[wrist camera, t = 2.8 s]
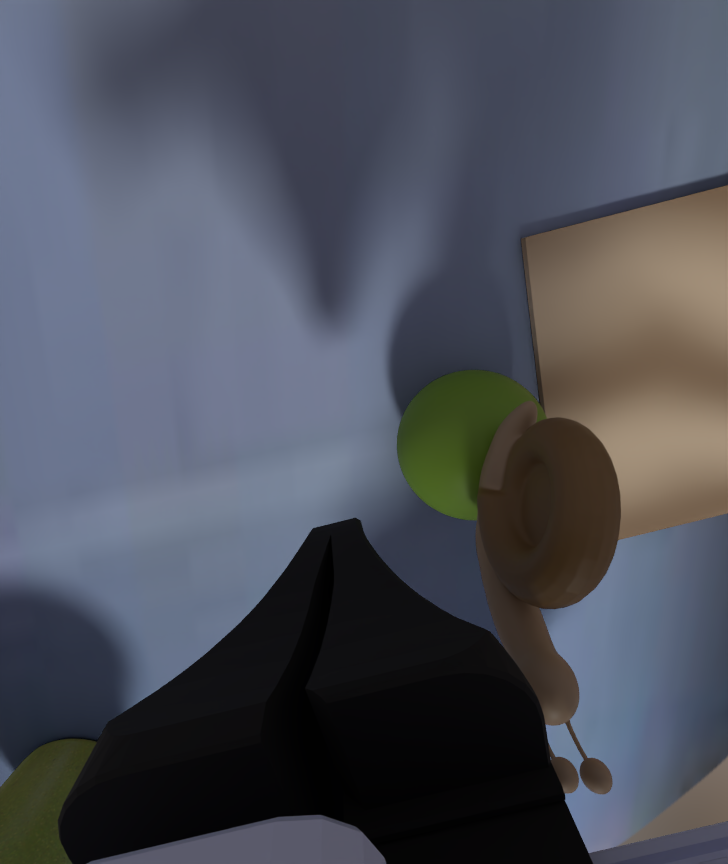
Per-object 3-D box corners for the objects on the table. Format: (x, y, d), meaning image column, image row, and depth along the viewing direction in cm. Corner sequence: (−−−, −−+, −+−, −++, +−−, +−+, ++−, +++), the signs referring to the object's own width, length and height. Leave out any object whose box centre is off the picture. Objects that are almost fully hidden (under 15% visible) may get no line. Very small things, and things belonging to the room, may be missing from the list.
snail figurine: (377, 496, 19) (438, 798, 8) (399, 352, 17) (523, 462, 6) (494, 506, 19) (718, 805, 8) (528, 368, 18) (882, 498, 6)
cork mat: (804, 488, 20) (813, 492, 20) (557, 549, 20) (561, 553, 20) (834, 158, 16) (846, 154, 15) (520, 238, 16) (525, 237, 16)
